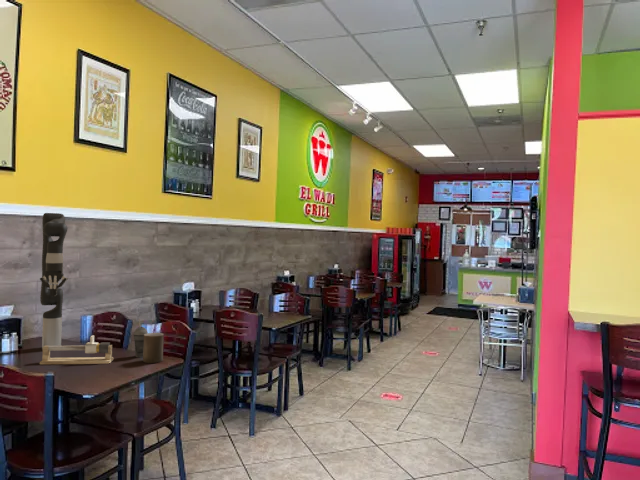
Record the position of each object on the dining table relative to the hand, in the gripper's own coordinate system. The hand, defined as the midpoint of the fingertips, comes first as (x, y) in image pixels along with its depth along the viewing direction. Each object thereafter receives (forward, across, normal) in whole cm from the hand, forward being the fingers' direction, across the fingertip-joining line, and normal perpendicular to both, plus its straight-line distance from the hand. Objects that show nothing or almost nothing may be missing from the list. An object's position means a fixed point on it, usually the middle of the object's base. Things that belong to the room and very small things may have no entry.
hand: (53, 296), depth 246 cm
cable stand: (+32, -14, +6) cm, 35 cm away
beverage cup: (+32, -42, -4) cm, 53 cm away
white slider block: (+27, -20, +6) cm, 35 cm away
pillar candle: (+32, -50, +6) cm, 60 cm away
